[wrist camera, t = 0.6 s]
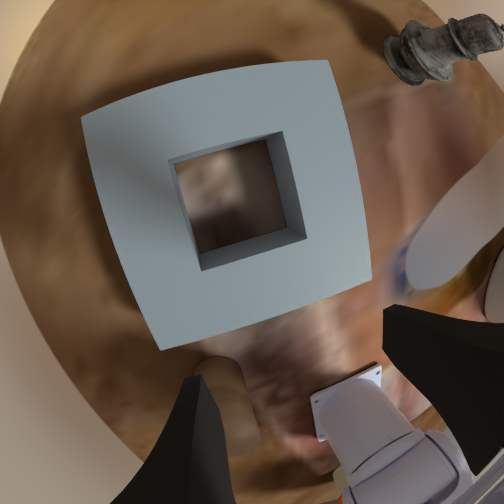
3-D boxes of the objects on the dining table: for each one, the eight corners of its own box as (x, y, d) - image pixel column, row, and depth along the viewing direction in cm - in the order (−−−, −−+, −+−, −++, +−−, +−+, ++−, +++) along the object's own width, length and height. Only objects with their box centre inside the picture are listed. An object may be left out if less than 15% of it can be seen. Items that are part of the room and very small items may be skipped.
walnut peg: (247, 384, 21) (266, 447, 14) (202, 396, 21) (210, 461, 14) (233, 350, 20) (252, 417, 13) (185, 363, 19) (186, 432, 13)
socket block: (346, 263, 20) (372, 279, 17) (164, 322, 18) (160, 350, 15) (305, 77, 16) (327, 59, 12) (101, 127, 14) (80, 117, 11)
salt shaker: (389, 83, 17) (507, 51, 5) (373, 26, 15) (469, -26, 4) (432, 93, 18) (535, 78, 6) (417, 41, 16) (508, 11, 5)
